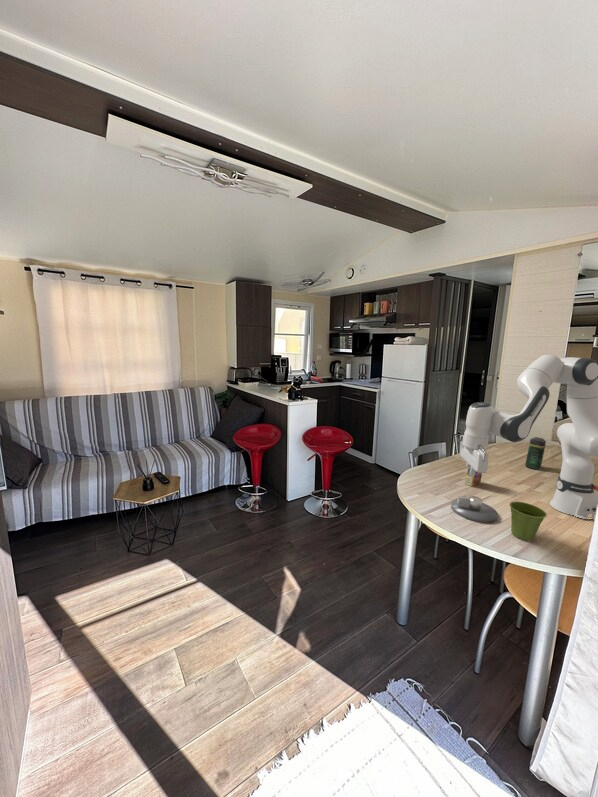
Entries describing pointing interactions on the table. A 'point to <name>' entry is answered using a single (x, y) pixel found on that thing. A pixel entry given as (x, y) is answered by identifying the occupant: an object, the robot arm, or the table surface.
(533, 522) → the plant pot
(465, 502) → the dial
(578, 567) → the table surface
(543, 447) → the coffee jar
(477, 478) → the candy box
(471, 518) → the dial plate
